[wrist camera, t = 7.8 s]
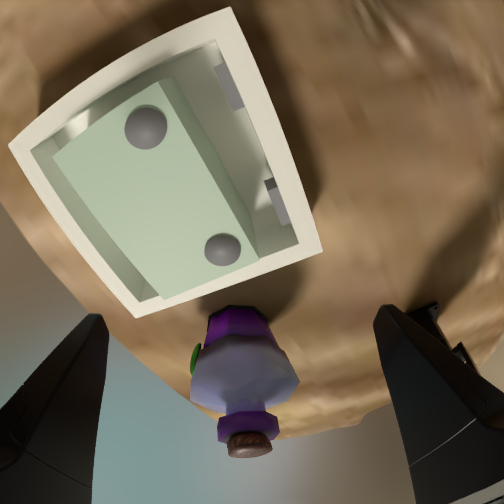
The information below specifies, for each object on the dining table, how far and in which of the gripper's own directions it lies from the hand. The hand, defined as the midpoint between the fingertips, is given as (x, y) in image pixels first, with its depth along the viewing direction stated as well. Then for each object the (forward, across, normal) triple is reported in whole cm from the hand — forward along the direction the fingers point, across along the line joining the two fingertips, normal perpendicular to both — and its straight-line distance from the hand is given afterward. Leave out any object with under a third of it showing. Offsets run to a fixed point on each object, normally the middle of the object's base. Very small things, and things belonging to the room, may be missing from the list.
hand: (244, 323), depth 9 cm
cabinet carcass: (+12, +4, -1) cm, 12 cm away
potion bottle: (+12, 0, +14) cm, 18 cm away
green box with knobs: (+11, +4, -1) cm, 11 cm away
